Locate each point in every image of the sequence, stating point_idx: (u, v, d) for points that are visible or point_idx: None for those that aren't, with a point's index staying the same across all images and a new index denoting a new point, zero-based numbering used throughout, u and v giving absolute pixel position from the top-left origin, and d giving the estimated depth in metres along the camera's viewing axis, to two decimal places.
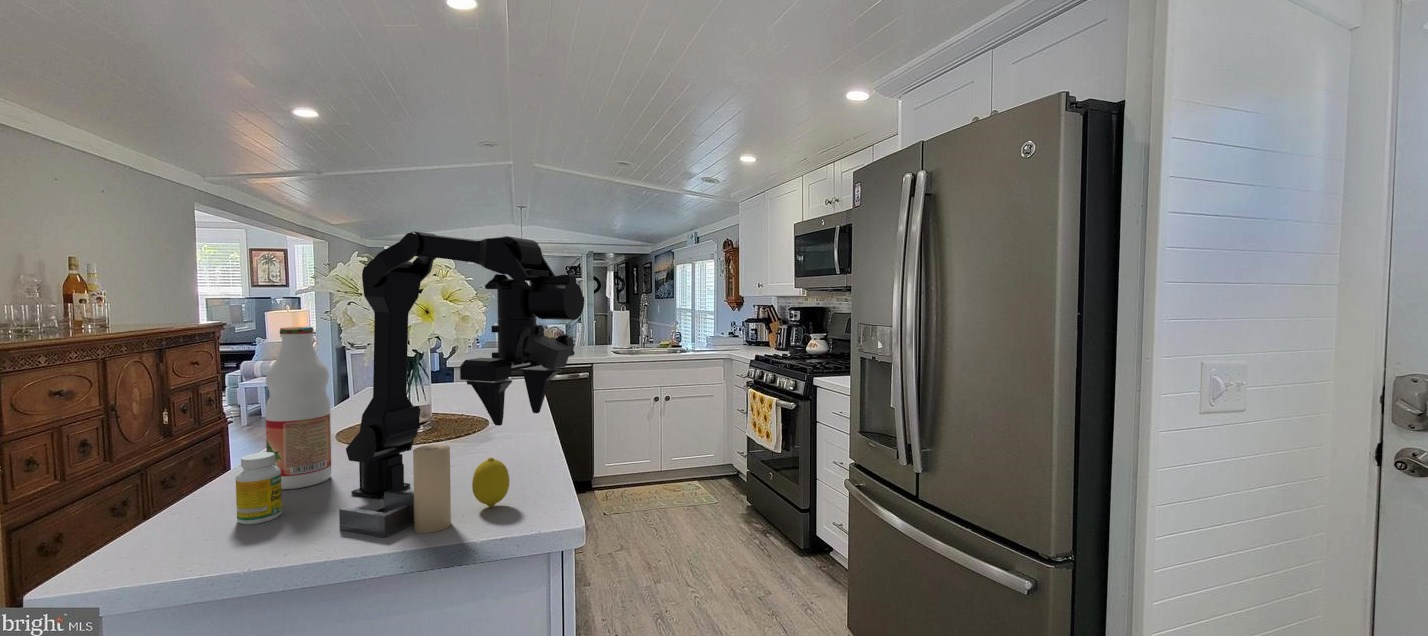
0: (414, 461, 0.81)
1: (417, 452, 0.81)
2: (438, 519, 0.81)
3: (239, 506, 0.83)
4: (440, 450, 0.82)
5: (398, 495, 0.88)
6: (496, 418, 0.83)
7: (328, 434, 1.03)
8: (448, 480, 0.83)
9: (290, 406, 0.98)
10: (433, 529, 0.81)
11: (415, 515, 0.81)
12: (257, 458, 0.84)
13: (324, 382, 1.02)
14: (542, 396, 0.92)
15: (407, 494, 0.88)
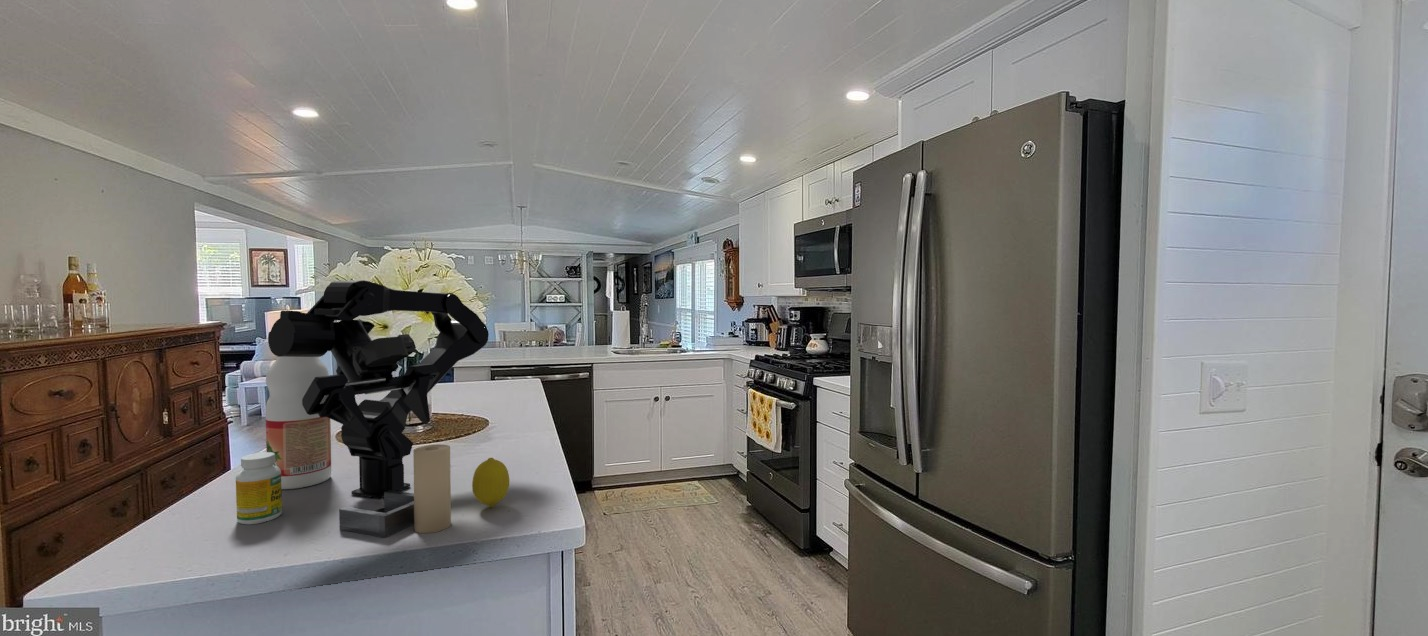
0: (414, 461, 0.81)
1: (417, 452, 0.81)
2: (438, 519, 0.81)
3: (239, 506, 0.83)
4: (440, 450, 0.82)
5: (398, 495, 0.88)
6: (363, 430, 0.82)
7: (328, 434, 1.03)
8: (448, 480, 0.83)
9: (290, 406, 0.98)
10: (433, 529, 0.81)
11: (415, 515, 0.81)
12: (257, 458, 0.84)
13: None
14: (424, 405, 0.91)
15: (407, 494, 0.88)
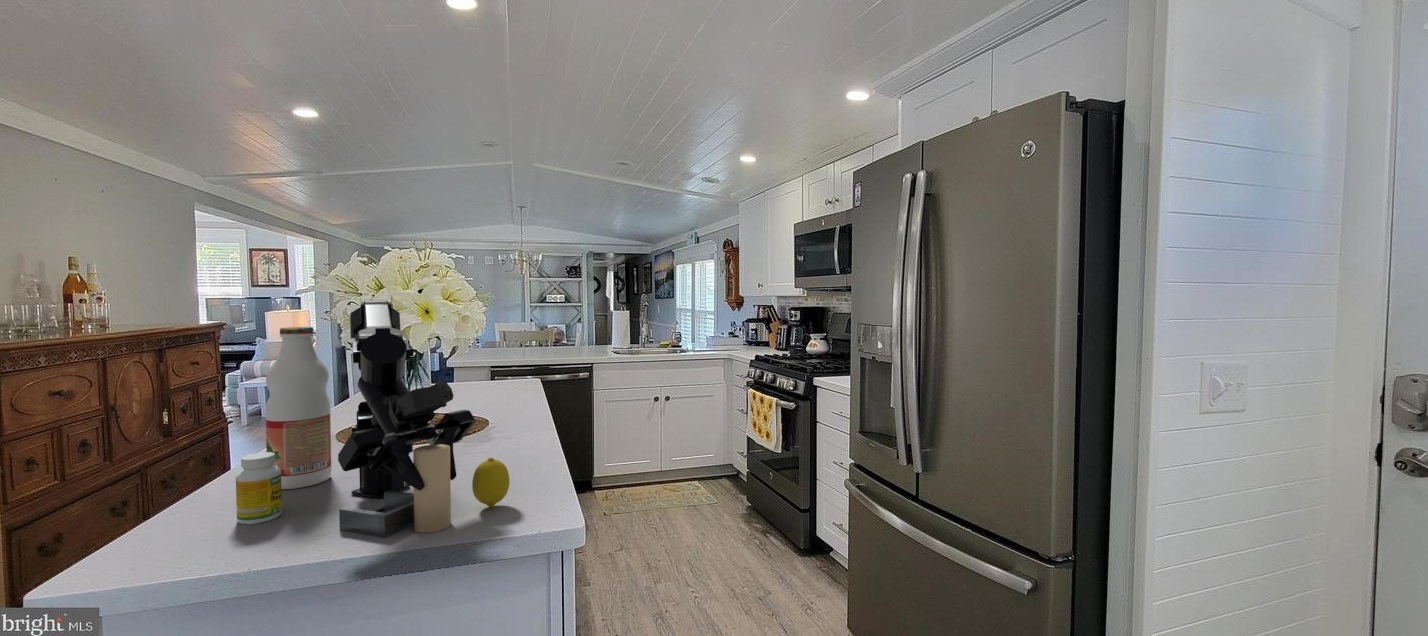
0: (414, 461, 0.81)
1: (417, 452, 0.81)
2: (438, 519, 0.81)
3: (239, 506, 0.83)
4: (440, 449, 0.82)
5: (398, 495, 0.88)
6: (415, 482, 0.80)
7: (328, 434, 1.03)
8: (448, 480, 0.83)
9: (290, 406, 0.98)
10: (433, 529, 0.81)
11: (415, 515, 0.81)
12: (257, 458, 0.84)
13: (324, 382, 1.02)
14: (450, 459, 0.85)
15: (407, 494, 0.88)
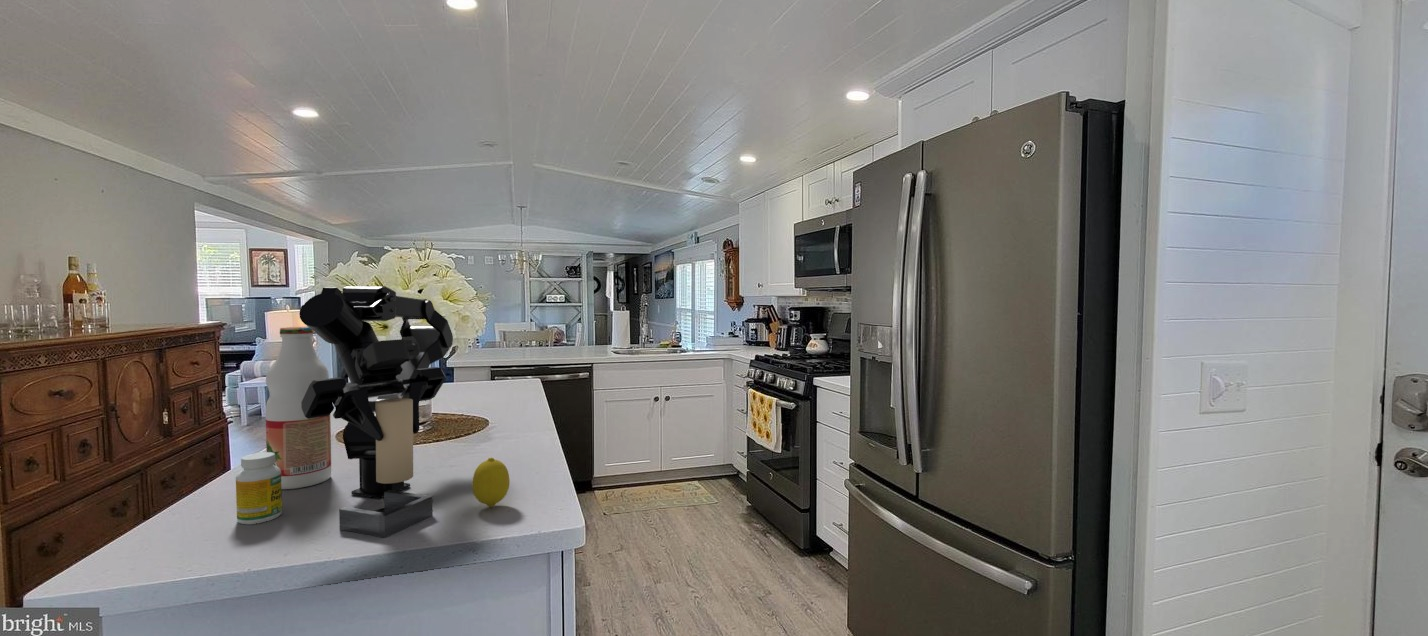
0: None
1: (378, 403, 0.82)
2: (397, 470, 0.82)
3: (239, 506, 0.83)
4: (401, 402, 0.83)
5: (398, 495, 0.88)
6: (375, 433, 0.81)
7: (328, 434, 1.03)
8: (409, 433, 0.83)
9: (290, 406, 0.98)
10: (392, 480, 0.82)
11: (376, 465, 0.82)
12: (257, 458, 0.84)
13: None
14: (414, 412, 0.86)
15: (407, 494, 0.88)
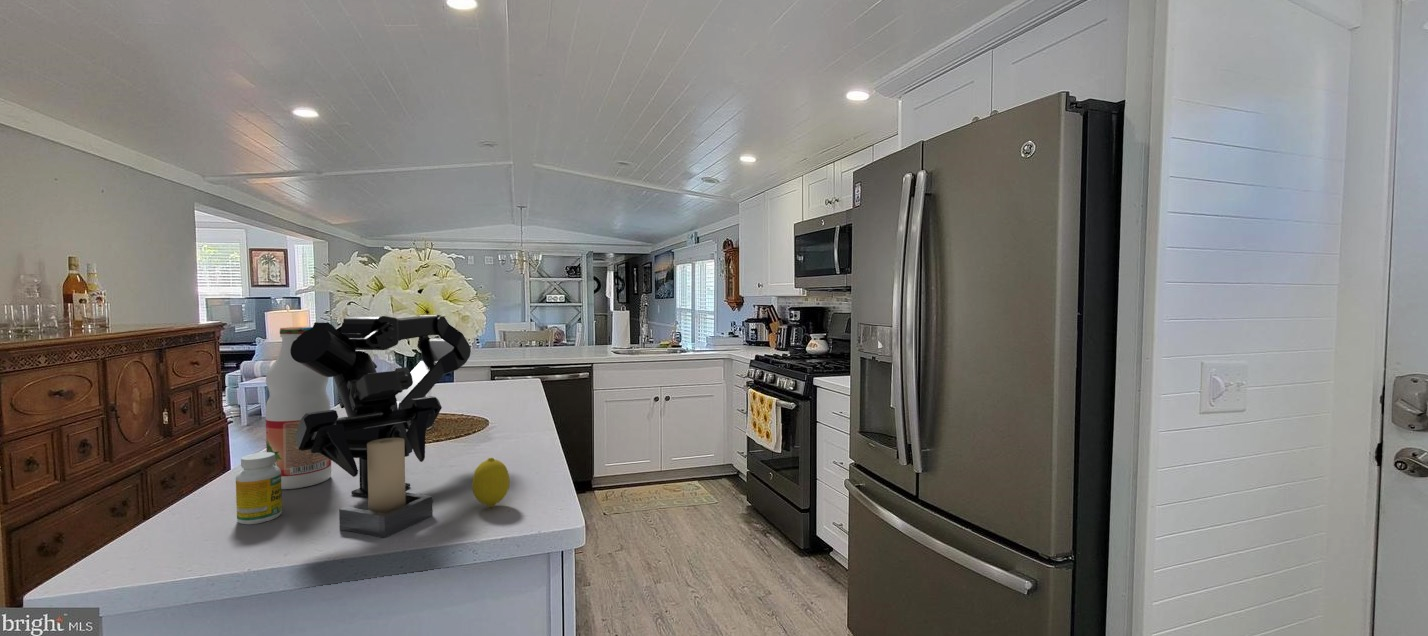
0: (367, 453, 0.82)
1: (369, 444, 0.82)
2: (388, 511, 0.82)
3: (239, 506, 0.83)
4: (391, 443, 0.83)
5: None
6: (349, 469, 0.79)
7: None
8: (400, 473, 0.84)
9: (290, 406, 0.98)
10: None
11: (368, 506, 0.83)
12: (257, 458, 0.84)
13: (324, 382, 1.02)
14: (420, 441, 0.88)
15: (407, 494, 0.88)
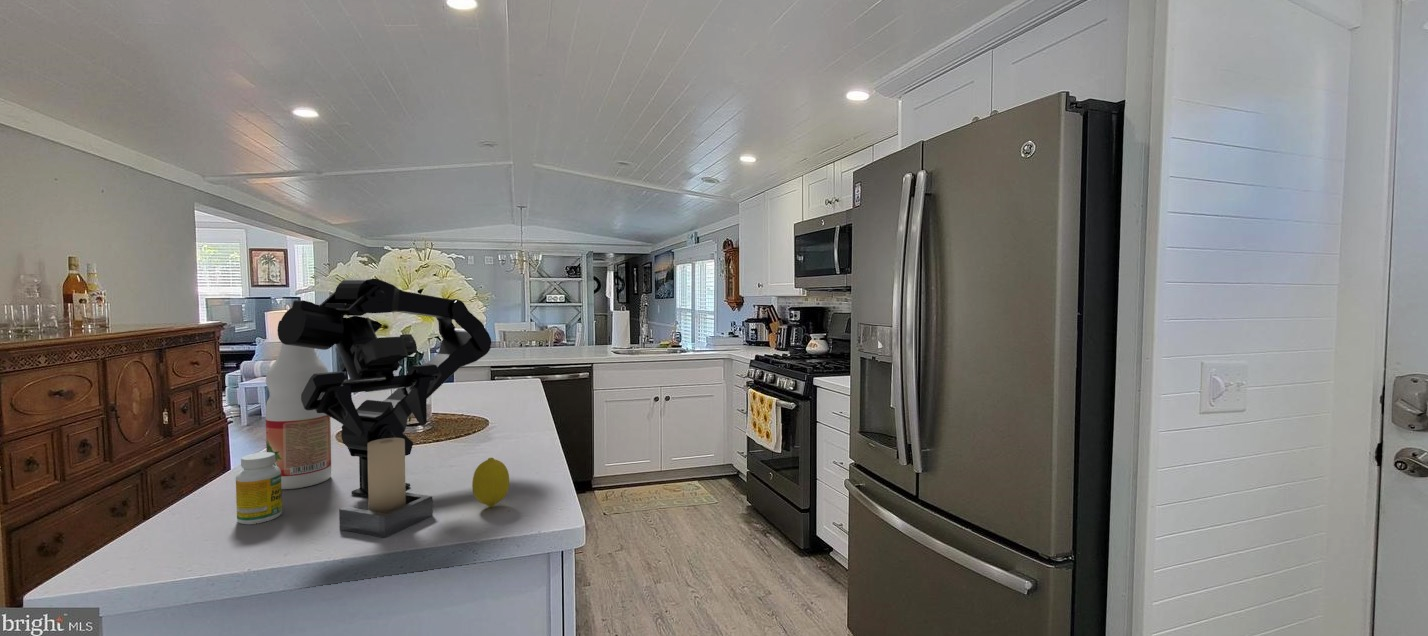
0: None
1: (370, 444, 0.82)
2: (388, 511, 0.82)
3: (239, 506, 0.83)
4: (392, 443, 0.83)
5: None
6: (356, 428, 0.82)
7: (328, 434, 1.03)
8: (401, 473, 0.84)
9: (290, 406, 0.98)
10: None
11: (369, 506, 0.83)
12: (257, 458, 0.84)
13: None
14: (422, 406, 0.91)
15: (407, 494, 0.88)
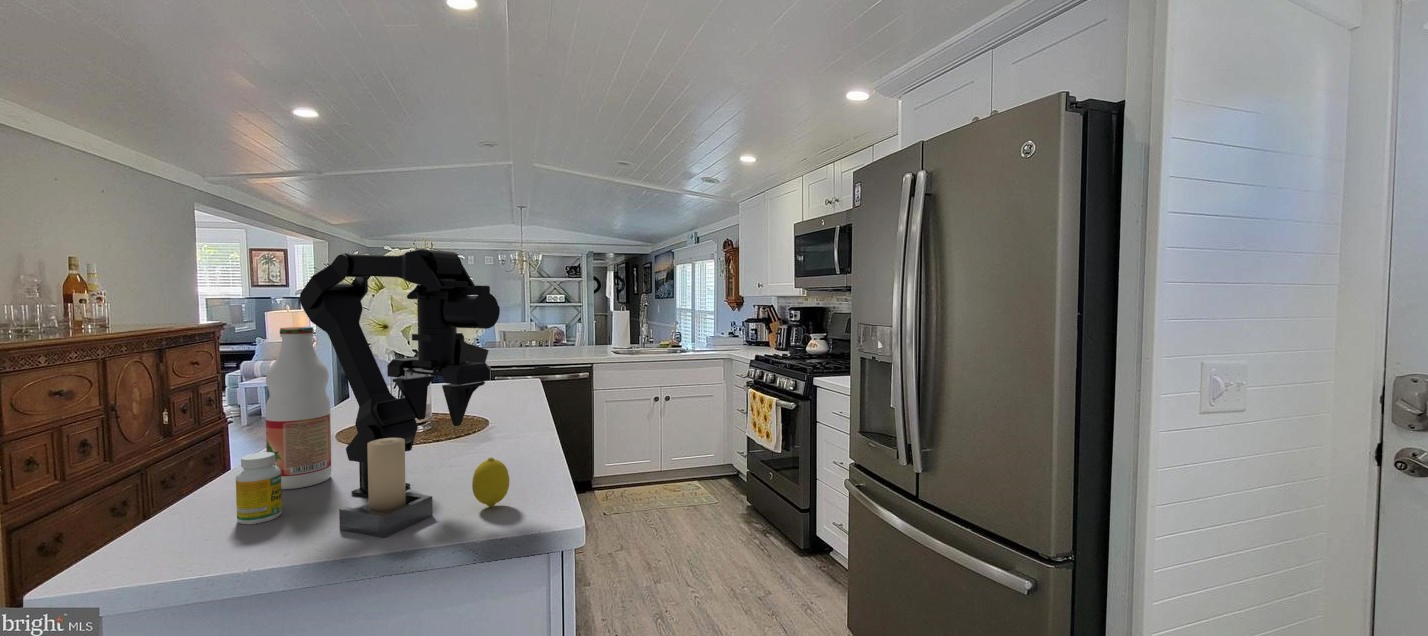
0: None
1: (370, 444, 0.82)
2: (388, 511, 0.82)
3: (239, 506, 0.83)
4: (392, 443, 0.83)
5: None
6: (459, 419, 0.90)
7: (328, 434, 1.03)
8: (401, 473, 0.84)
9: (290, 406, 0.98)
10: None
11: (369, 506, 0.83)
12: (257, 458, 0.84)
13: (324, 382, 1.02)
14: None
15: (407, 494, 0.88)
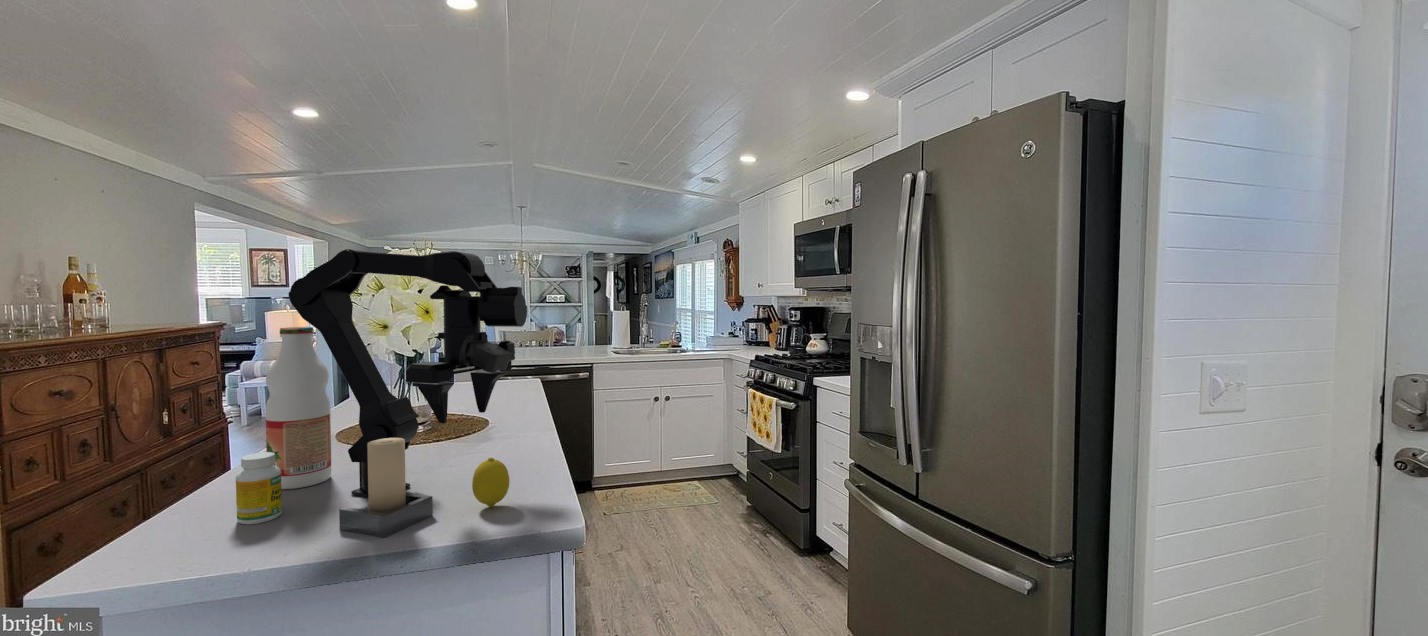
0: None
1: (370, 444, 0.82)
2: (388, 511, 0.82)
3: (239, 506, 0.83)
4: (392, 443, 0.83)
5: None
6: (440, 417, 0.92)
7: (328, 434, 1.03)
8: (401, 473, 0.84)
9: (290, 406, 0.98)
10: None
11: (369, 506, 0.83)
12: (257, 458, 0.84)
13: (324, 382, 1.02)
14: (487, 397, 1.01)
15: (407, 494, 0.88)
